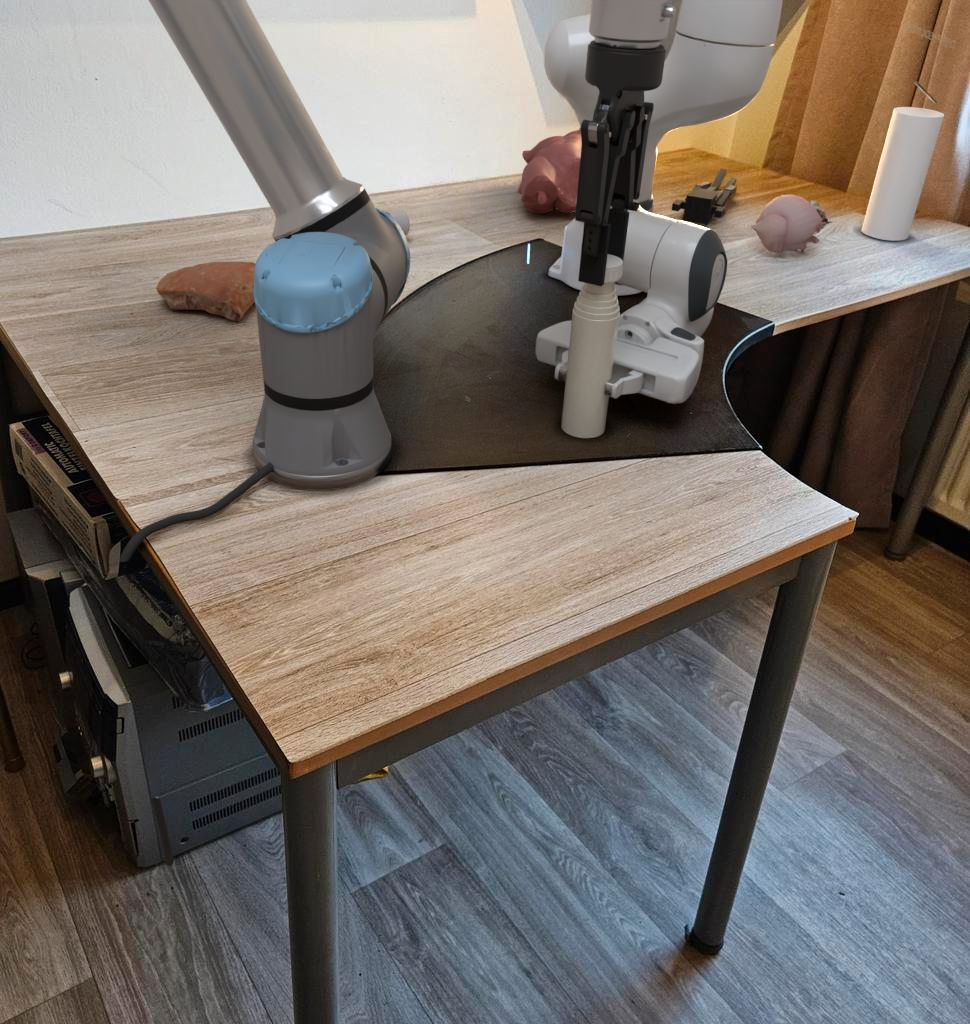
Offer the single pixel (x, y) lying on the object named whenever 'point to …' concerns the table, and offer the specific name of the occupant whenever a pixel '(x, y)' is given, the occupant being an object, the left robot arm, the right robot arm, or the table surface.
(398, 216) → the electric motor
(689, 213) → the toy
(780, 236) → the toy
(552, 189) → the pink faceted figure
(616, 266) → the cap
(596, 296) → the bottle
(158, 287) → the ceramic shard
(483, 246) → the table surface
